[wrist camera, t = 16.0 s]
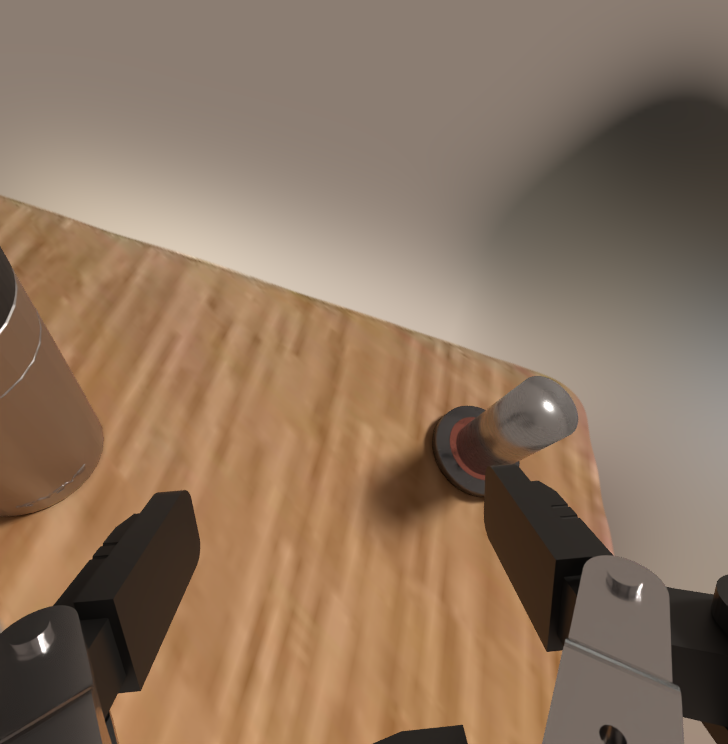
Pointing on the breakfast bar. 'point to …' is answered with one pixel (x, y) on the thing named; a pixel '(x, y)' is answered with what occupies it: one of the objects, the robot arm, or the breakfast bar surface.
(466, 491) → the flange pad
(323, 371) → the breakfast bar surface
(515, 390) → the grey metal cylinder
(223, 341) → the breakfast bar surface
